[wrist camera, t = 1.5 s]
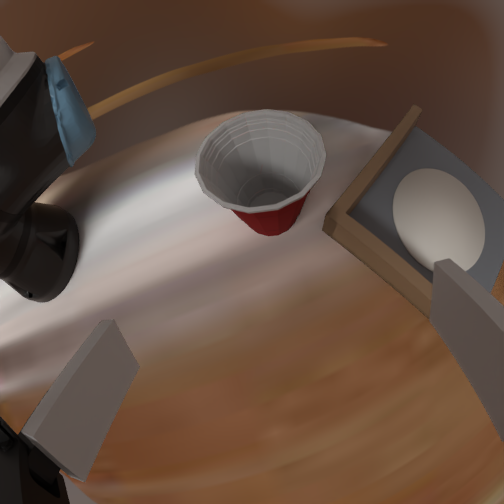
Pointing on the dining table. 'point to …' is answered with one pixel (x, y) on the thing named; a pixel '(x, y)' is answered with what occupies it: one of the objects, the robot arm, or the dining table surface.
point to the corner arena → (419, 215)
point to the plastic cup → (261, 167)
